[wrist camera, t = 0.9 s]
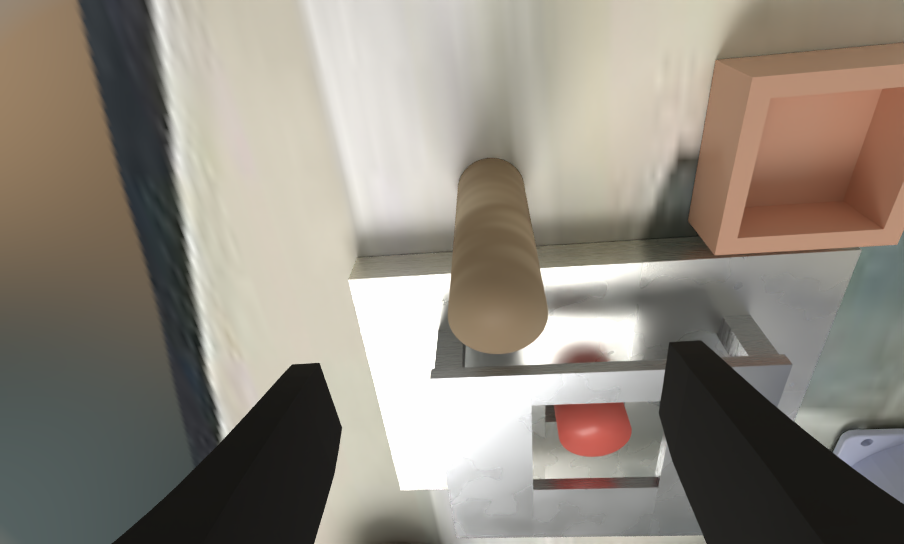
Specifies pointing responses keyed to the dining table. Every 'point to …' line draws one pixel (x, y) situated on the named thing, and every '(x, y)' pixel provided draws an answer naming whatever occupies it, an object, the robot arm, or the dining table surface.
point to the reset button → (592, 427)
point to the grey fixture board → (582, 375)
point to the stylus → (495, 262)
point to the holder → (803, 152)
